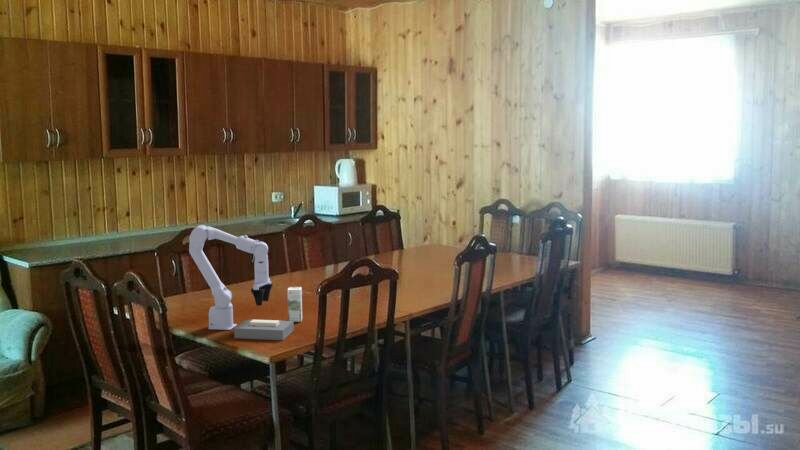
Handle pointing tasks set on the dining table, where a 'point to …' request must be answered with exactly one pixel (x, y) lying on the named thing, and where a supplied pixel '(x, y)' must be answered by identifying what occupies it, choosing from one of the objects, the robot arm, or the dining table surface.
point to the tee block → (264, 323)
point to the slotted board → (264, 331)
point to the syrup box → (294, 304)
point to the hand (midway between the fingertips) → (262, 303)
